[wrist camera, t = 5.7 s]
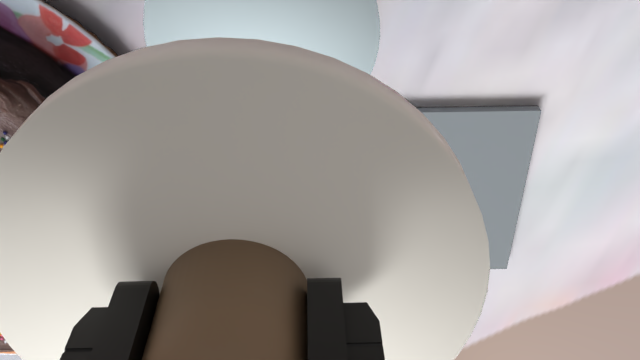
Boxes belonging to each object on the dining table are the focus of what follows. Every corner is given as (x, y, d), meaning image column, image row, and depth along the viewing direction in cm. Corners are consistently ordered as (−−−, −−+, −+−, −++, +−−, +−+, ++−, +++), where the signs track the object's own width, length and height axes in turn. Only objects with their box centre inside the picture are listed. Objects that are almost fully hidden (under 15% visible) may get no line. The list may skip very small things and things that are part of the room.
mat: (331, 108, 34) (332, 113, 33) (537, 105, 34) (541, 110, 33) (330, 266, 40) (330, 272, 40) (504, 262, 40) (506, 268, 40)
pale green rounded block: (153, -111, 27) (123, -89, 23) (372, -112, 28) (386, -91, 23) (181, 91, 33) (162, 141, 28) (364, 88, 33) (374, 137, 29)
